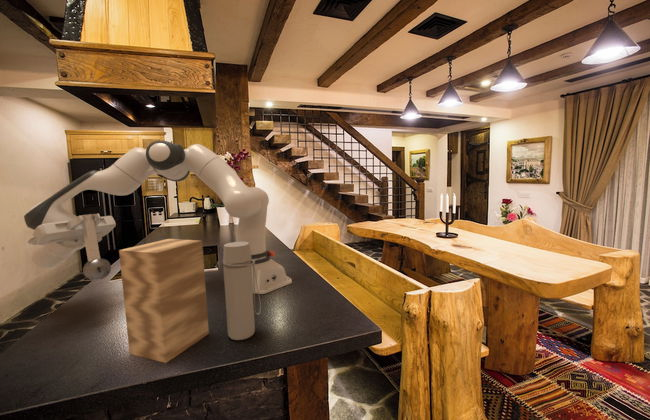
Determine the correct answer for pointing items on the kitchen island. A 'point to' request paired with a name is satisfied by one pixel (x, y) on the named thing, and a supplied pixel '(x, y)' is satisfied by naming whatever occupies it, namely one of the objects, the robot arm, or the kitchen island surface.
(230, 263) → the water bottle
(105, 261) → the ratchet wrench
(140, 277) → the wooden block
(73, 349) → the kitchen island surface
